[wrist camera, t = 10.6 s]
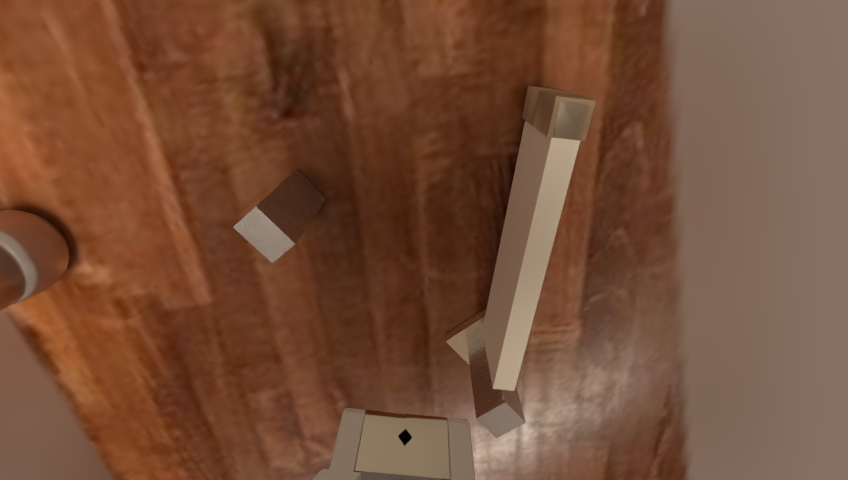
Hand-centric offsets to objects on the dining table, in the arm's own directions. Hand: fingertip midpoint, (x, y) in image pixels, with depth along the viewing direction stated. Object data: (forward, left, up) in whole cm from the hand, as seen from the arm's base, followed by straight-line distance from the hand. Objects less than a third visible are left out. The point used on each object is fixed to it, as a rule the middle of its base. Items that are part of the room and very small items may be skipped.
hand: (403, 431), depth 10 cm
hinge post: (-15, +5, -23) cm, 27 cm away
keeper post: (+5, +8, -23) cm, 24 cm away
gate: (-7, -3, -21) cm, 22 cm away
